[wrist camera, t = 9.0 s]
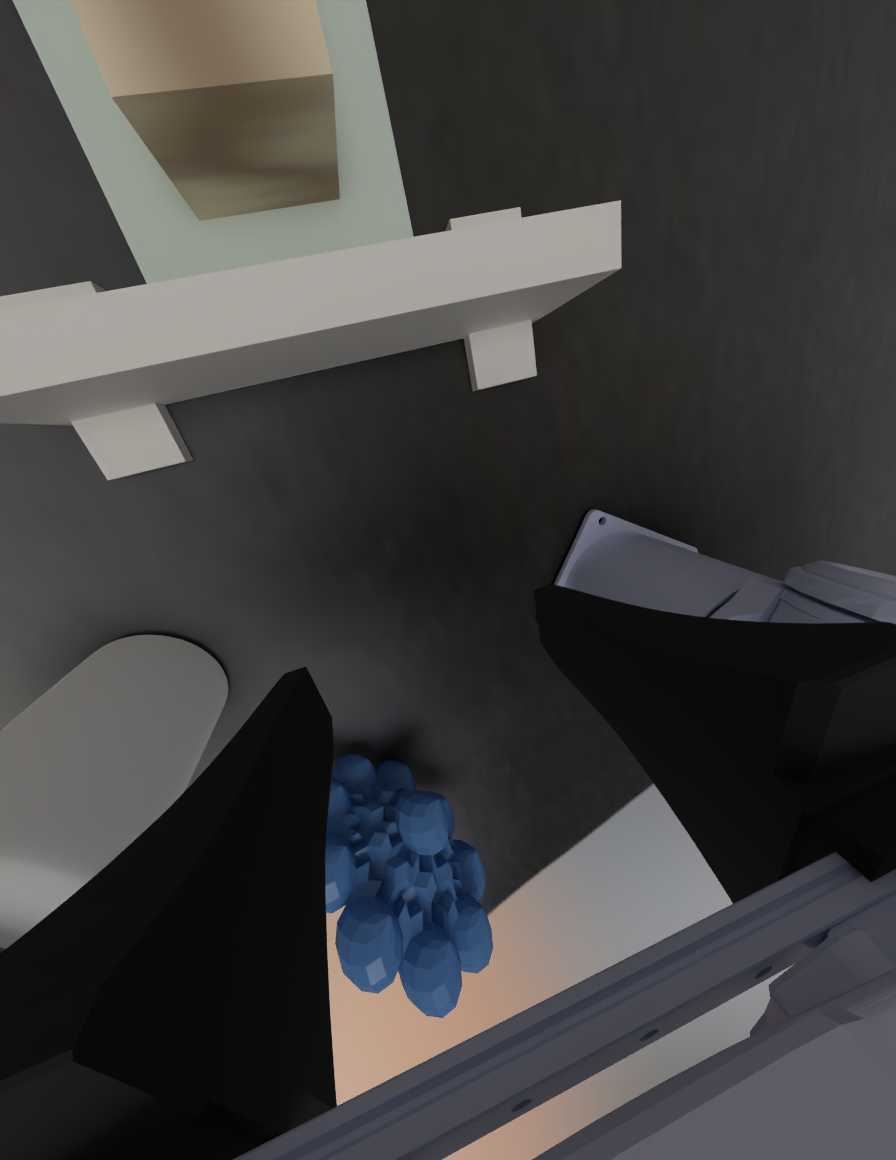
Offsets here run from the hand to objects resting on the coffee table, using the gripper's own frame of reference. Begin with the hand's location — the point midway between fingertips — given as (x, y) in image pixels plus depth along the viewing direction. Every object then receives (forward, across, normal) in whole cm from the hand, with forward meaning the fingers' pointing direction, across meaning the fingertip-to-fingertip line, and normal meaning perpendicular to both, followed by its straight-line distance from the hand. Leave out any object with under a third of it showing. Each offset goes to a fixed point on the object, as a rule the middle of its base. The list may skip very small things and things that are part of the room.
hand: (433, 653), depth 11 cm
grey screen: (+9, +1, -10) cm, 14 cm away
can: (+10, +14, +3) cm, 17 cm away
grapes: (+10, +4, +14) cm, 17 cm away
